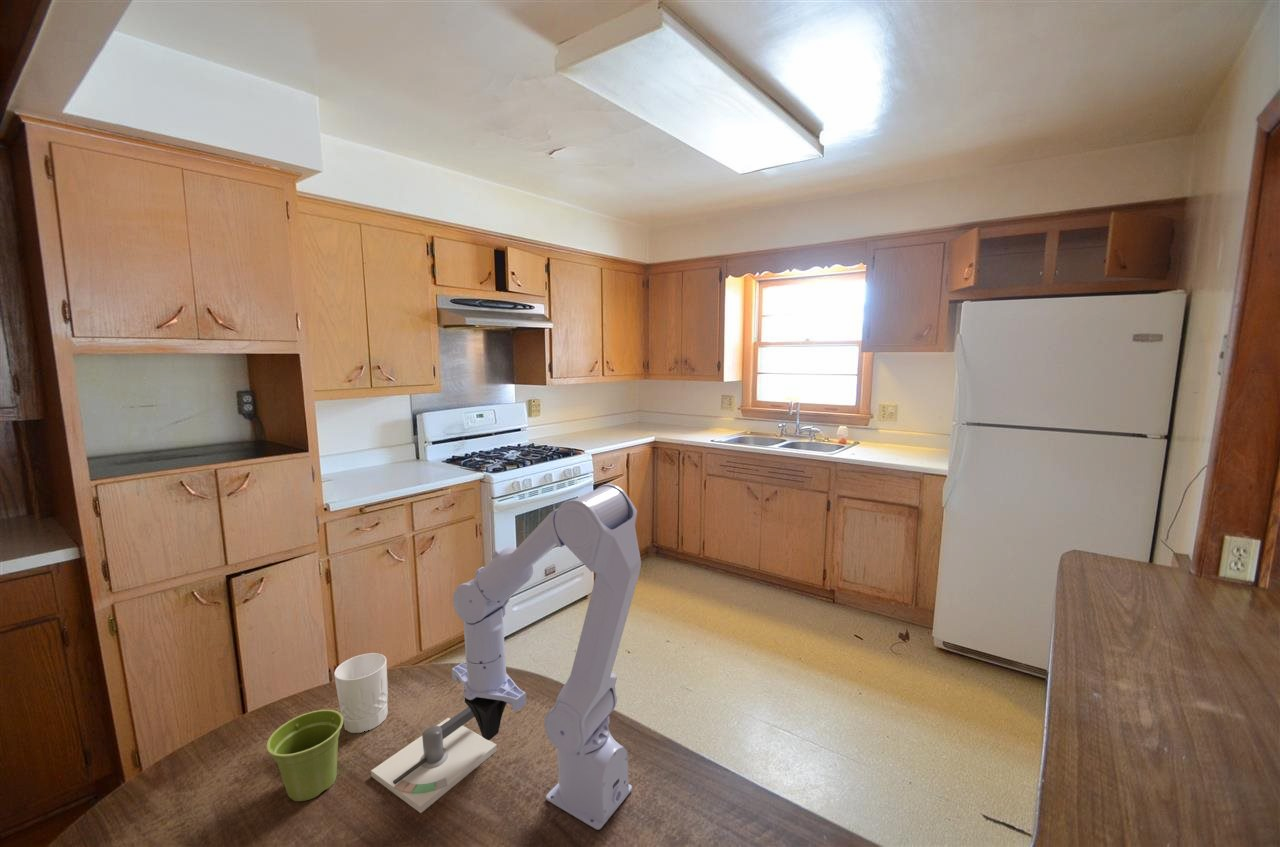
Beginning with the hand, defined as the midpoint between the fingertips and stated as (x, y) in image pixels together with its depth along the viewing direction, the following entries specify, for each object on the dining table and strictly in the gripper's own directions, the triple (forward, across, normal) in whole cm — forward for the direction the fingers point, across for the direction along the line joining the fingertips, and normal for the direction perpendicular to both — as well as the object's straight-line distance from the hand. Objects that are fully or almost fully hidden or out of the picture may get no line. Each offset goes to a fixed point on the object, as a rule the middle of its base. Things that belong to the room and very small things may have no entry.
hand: (490, 735), depth 82 cm
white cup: (+4, -25, -6) cm, 26 cm away
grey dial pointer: (+2, -6, -4) cm, 8 cm away
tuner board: (+3, -6, -6) cm, 9 cm away
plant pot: (+4, -18, -18) cm, 26 cm away
